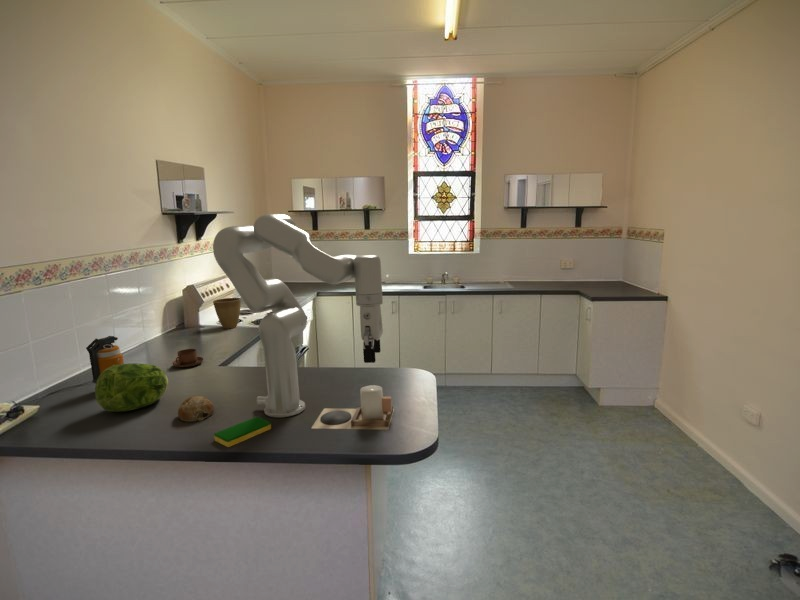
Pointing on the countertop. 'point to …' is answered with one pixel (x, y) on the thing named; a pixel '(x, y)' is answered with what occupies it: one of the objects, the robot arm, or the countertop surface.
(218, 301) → the plant pot
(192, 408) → the bread roll
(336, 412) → the jug stand
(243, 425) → the dish sponge
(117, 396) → the lettuce
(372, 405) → the jug
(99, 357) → the canister
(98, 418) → the countertop surface
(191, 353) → the cup and saucer
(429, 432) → the countertop surface
